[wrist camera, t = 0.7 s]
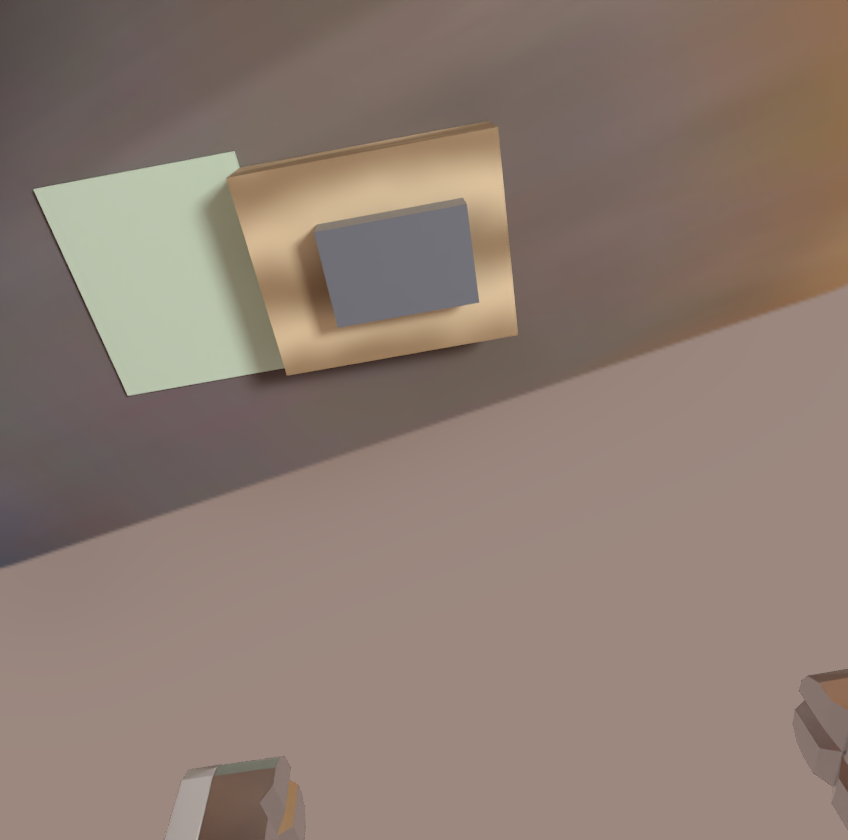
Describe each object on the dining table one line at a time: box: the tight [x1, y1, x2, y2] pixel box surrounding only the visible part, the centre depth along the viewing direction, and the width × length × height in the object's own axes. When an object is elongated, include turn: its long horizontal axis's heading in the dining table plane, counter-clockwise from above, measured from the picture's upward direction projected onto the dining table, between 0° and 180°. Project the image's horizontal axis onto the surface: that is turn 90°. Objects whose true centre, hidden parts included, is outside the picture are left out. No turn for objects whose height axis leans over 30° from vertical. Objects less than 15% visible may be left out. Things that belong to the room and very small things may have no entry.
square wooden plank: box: [226, 121, 518, 376], centre depth 41 cm, size 13×16×4 cm
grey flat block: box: [314, 198, 479, 328], centre depth 39 cm, size 6×9×2 cm, turn 99°
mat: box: [33, 151, 285, 396], centre depth 43 cm, size 15×13×1 cm
